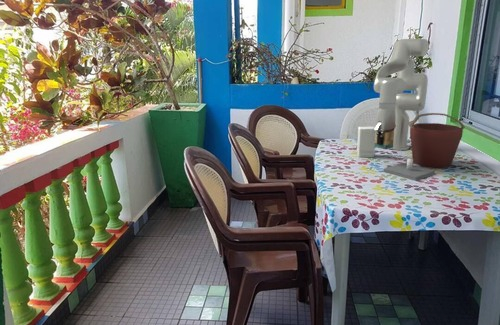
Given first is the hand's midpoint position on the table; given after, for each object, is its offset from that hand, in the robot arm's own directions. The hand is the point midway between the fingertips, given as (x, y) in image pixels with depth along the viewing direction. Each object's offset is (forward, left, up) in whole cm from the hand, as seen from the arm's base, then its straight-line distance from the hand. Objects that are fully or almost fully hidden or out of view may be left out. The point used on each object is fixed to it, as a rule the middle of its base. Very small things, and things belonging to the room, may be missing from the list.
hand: (384, 143), depth 185 cm
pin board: (+1, +15, -11) cm, 19 cm away
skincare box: (-8, -16, -11) cm, 21 cm away
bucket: (-22, +13, -11) cm, 28 cm away
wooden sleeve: (0, 0, -2) cm, 2 cm away
